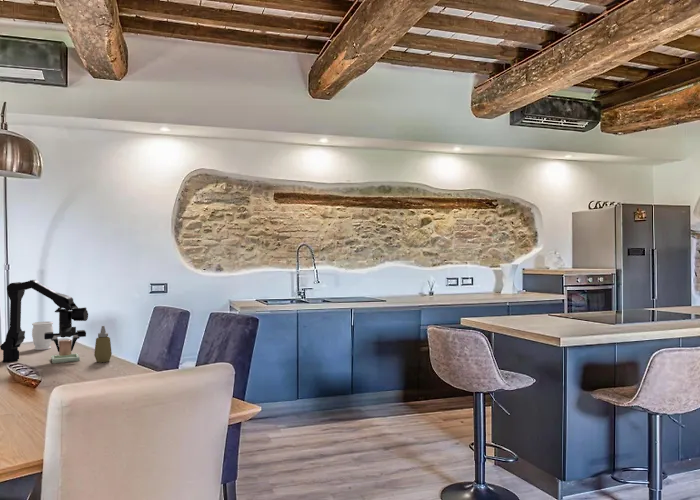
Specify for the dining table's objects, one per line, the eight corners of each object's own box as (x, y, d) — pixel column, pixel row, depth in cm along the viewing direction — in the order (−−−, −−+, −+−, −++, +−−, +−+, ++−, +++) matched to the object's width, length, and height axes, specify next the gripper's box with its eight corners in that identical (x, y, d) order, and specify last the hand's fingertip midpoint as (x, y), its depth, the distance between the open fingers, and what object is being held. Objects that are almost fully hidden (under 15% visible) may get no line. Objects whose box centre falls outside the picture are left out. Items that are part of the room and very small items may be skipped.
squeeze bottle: (90, 362, 270) (90, 326, 270) (104, 359, 277) (104, 324, 277) (101, 363, 266) (101, 327, 266) (115, 360, 273) (115, 325, 274)
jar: (46, 350, 301) (46, 323, 301) (27, 350, 301) (28, 323, 301) (56, 347, 312) (56, 321, 312) (39, 347, 312) (39, 321, 312)
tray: (52, 363, 267) (52, 359, 267) (51, 359, 277) (51, 355, 277) (79, 360, 273) (79, 357, 273) (77, 356, 284) (77, 353, 284)
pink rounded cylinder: (59, 355, 272) (59, 342, 272) (58, 354, 276) (58, 340, 276) (71, 354, 274) (71, 341, 274) (71, 353, 279) (71, 339, 279)
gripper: (45, 324, 264) (44, 355, 264) (87, 321, 273) (87, 352, 273) (44, 321, 273) (44, 352, 273) (85, 319, 283) (84, 348, 283)
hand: (65, 351), depth 275 cm, fingers closed on pink rounded cylinder, 6 cm apart
